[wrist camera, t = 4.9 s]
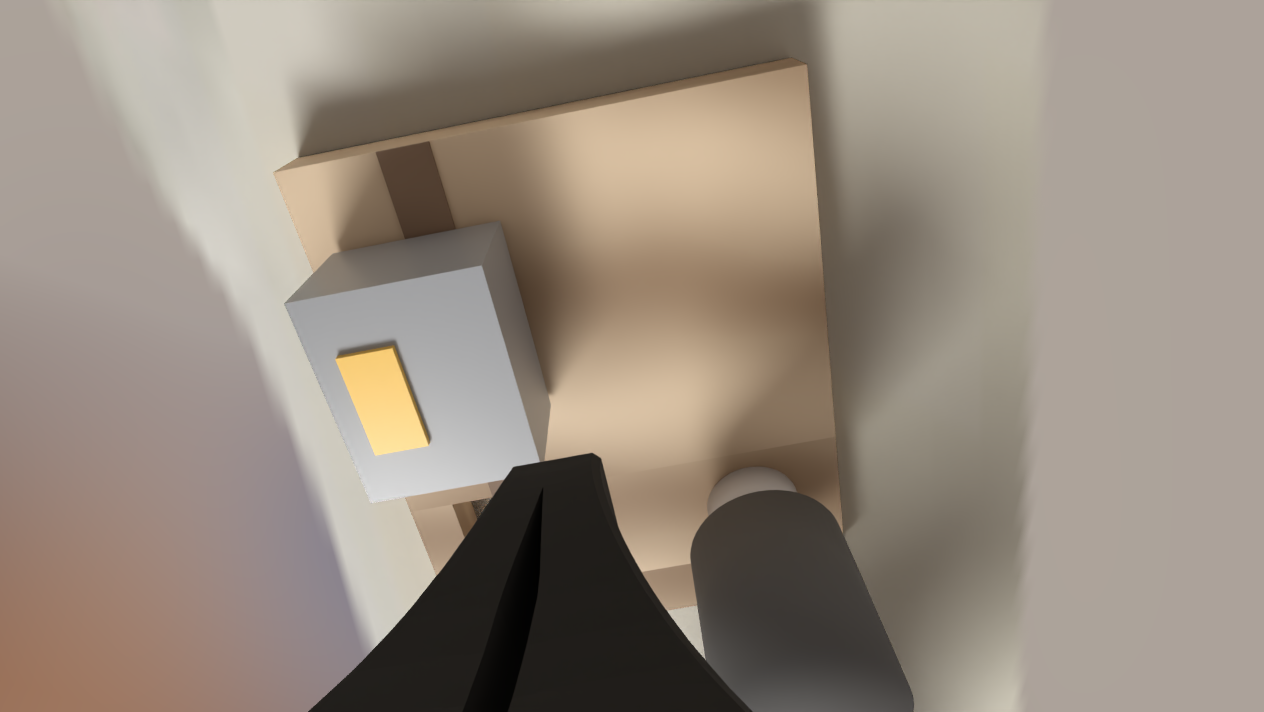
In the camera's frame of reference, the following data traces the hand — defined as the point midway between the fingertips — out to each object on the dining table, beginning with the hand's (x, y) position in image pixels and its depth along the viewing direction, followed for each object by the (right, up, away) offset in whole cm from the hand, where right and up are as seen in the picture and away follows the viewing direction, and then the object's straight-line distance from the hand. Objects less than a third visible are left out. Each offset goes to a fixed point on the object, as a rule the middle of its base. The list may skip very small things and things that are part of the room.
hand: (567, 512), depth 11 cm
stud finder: (-4, +3, +7) cm, 9 cm away
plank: (0, +2, +10) cm, 10 cm away
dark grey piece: (+4, -2, +10) cm, 11 cm away
